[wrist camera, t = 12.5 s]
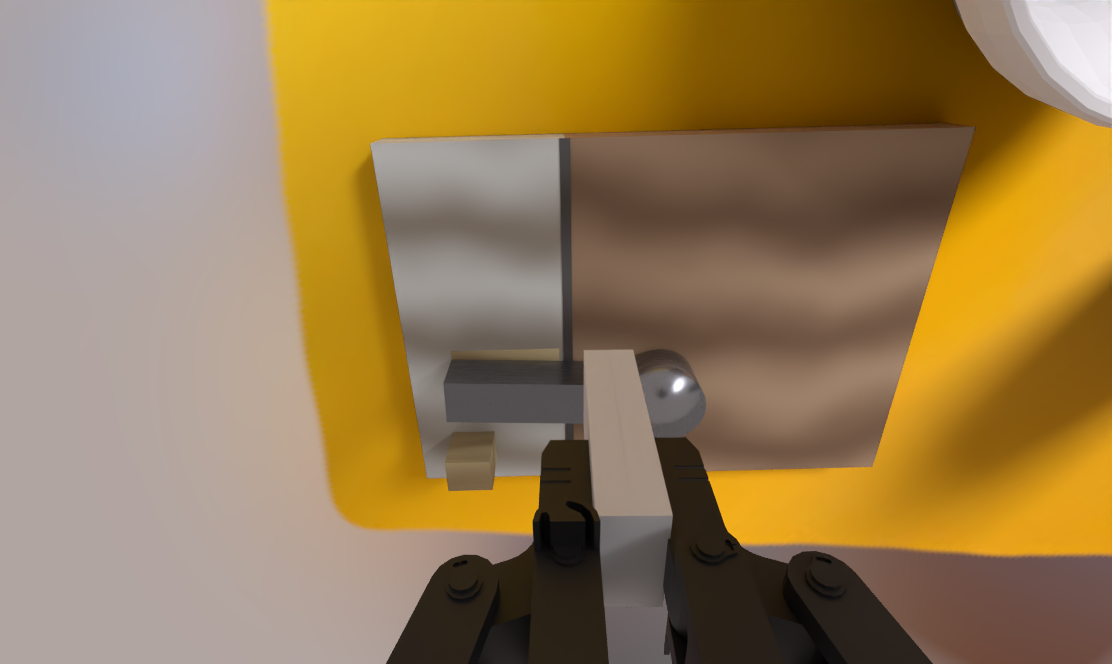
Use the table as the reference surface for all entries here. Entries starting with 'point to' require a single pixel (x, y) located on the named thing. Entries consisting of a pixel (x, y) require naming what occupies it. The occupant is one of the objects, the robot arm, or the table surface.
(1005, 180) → the table surface
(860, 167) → the board
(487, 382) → the door lever handle
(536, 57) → the table surface
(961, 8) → the bowl
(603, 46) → the table surface
